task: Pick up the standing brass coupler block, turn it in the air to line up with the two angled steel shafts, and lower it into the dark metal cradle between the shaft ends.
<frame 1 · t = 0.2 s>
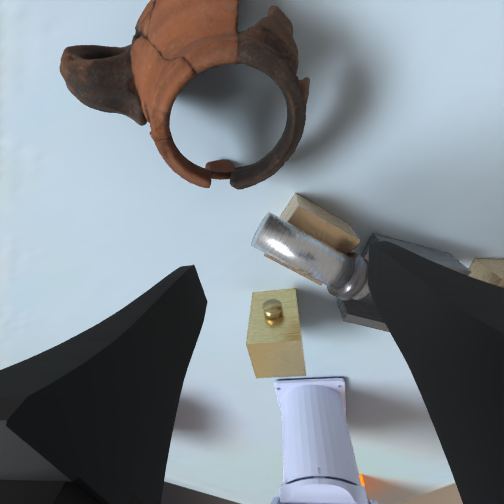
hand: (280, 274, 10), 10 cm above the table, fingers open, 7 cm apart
coupler: (276, 306, 24), on the table
shaft b: (495, 281, 21), on the table
orange juice: (334, 482, 42), on the table
pottery mug: (208, 89, 16), on the table
cradle: (388, 278, 22), on the table
shaft a: (306, 231, 20), on the table
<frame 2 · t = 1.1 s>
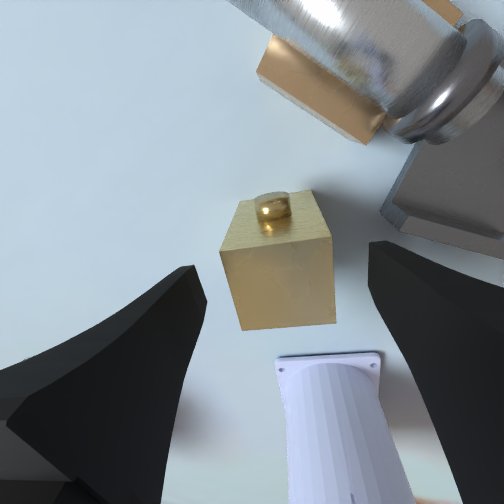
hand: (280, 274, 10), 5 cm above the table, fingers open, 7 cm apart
coupler: (279, 228, 15), on the table
cradle: (475, 162, 12), on the table
shaft a: (335, 60, 11), on the table
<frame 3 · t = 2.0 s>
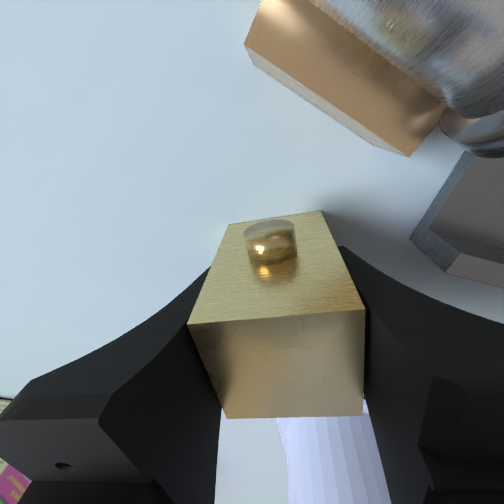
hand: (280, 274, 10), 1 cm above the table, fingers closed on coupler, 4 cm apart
coupler: (279, 257, 12), on the table, touching gripper
box: (40, 429, 23), on the table
shaft a: (359, 33, 8), on the table
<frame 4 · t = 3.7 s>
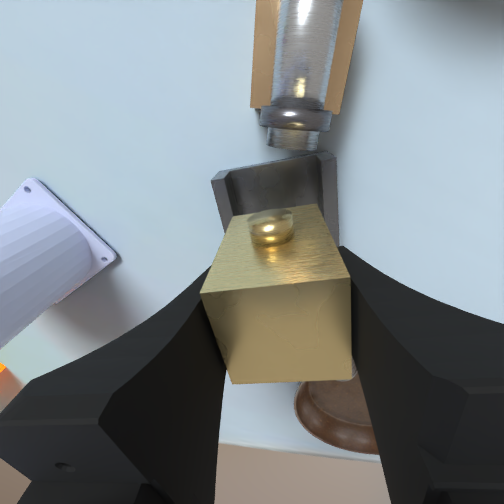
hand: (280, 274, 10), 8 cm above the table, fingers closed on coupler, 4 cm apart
coupler: (279, 247, 13), point 6 cm above the table, touching gripper
plant saucer: (376, 380, 27), on the table
cradle: (278, 208, 18), on the table
shaft a: (298, 58, 14), on the table
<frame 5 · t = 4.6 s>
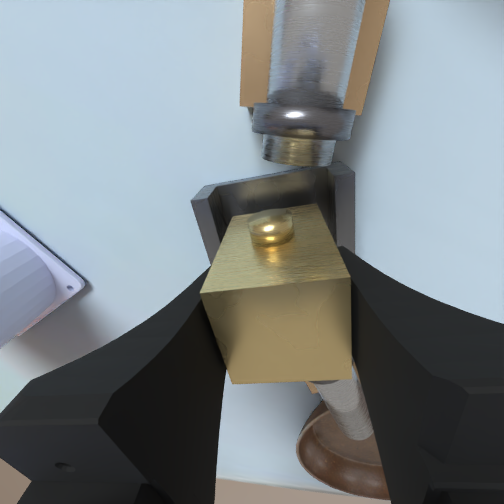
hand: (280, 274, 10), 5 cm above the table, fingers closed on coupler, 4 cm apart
coupler: (279, 247, 13), point 2 cm above the table, touching gripper
shaft b: (324, 329, 18), on the table
plant saucer: (389, 418, 23), on the table
cradle: (278, 230, 14), on the table
shaft a: (303, 41, 10), on the table
when the fingers open (3 cm above the table, at t = 5.3 s): coupler stays where it is, resting on cradle.
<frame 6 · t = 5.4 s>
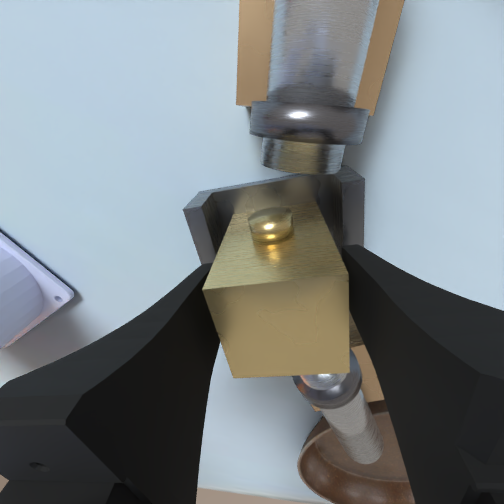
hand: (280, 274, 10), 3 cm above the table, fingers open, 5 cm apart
coupler: (279, 244, 13), point 1 cm above the table, touching cradle
shaft b: (328, 342, 17), on the table
plant saucer: (395, 432, 22), on the table
cradle: (279, 238, 13), on the table
shaft a: (308, 33, 9), on the table
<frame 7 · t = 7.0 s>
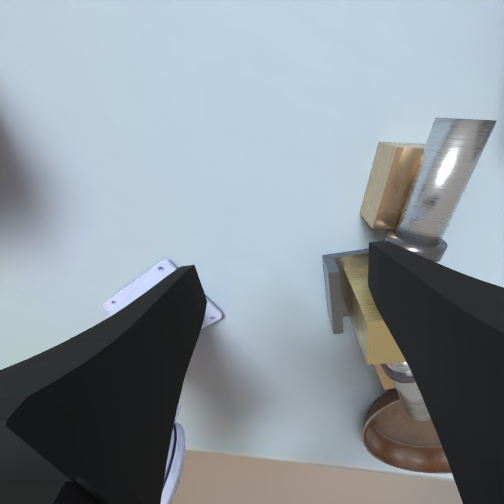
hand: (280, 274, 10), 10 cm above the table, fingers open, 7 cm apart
coupler: (369, 285, 21), point 1 cm above the table, touching cradle
shaft b: (390, 344, 25), on the table
plant saucer: (431, 408, 30), on the table
cradle: (367, 280, 22), on the table
shaft a: (400, 182, 18), on the table
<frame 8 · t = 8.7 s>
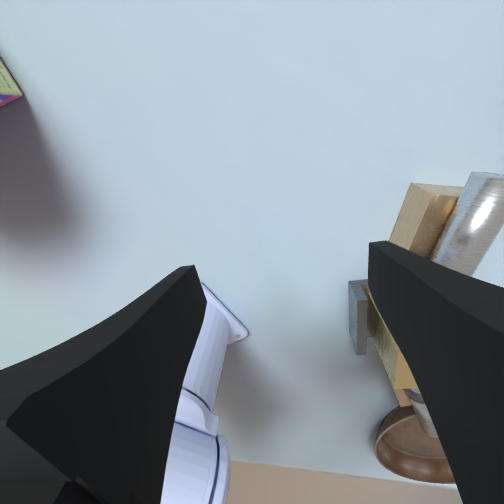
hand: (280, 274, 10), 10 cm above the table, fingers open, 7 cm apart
coupler: (391, 310, 22), point 1 cm above the table, touching cradle
shaft b: (406, 363, 26), on the table
plant saucer: (440, 422, 32), on the table
cradle: (389, 305, 23), on the table
shaft a: (428, 218, 19), on the table
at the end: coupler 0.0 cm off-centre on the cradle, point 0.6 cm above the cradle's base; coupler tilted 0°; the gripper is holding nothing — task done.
